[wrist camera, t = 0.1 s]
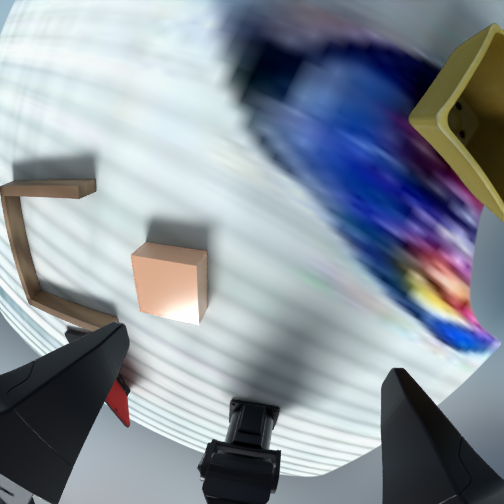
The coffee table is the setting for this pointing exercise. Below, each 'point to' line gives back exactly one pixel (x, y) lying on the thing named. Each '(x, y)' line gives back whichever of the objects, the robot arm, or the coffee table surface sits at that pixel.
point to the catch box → (22, 253)
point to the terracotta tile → (171, 281)
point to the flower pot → (470, 116)
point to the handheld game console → (118, 391)
